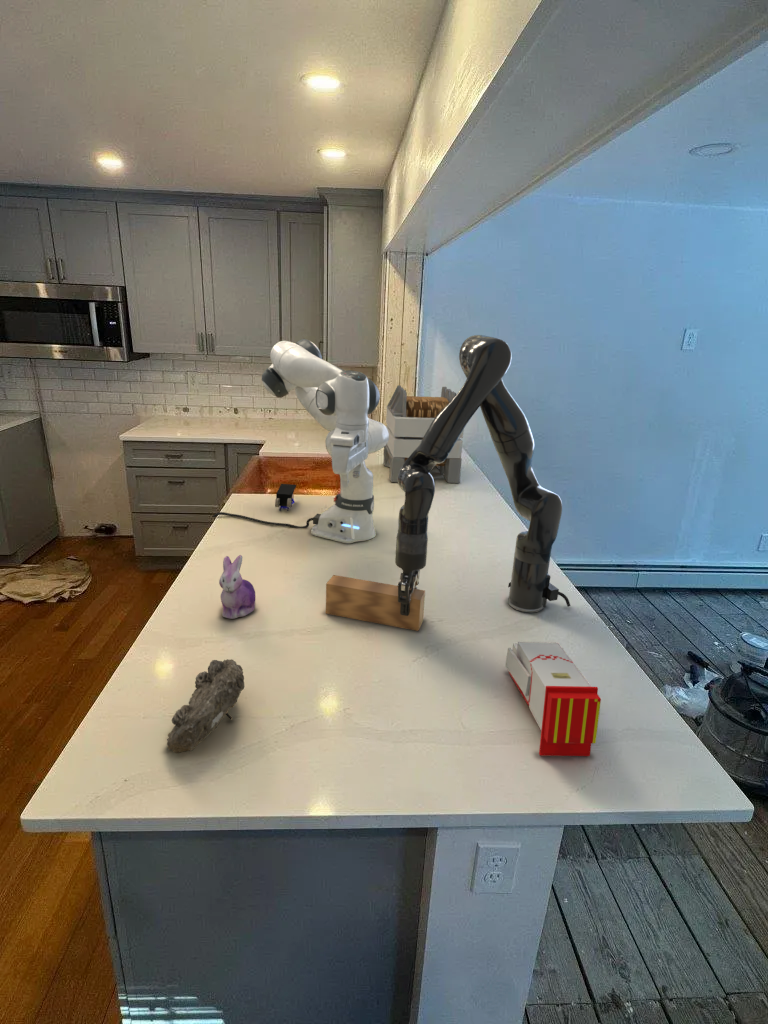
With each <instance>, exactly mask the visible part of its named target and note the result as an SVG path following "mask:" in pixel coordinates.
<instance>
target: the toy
mask: <svg viewBox="0 0 768 1024" xmlns="http://www.w3.org/2000/svg"><path fill="white" fill-rule="evenodd" d="M511 646H512V647H508V648H507V653H506V658H505V659H506V660H505V668H506V669H507V671H508V675H509V676H510V677H511V679H512V681H513V682H514V684H515V686H516V688H517V689H518V691H519V693H520V694H521V696H522V698H523V700H524V702H525V703H526V705H527V706H528V708H529V710H530V712H531V715H532V716H533V718H534V720H535V722H536V723H537V724H536V725H537V726H538V727H539V730H540V731H541V733H540V739H539V740H540V741H539V749H538V751H539V752H538V754H539V756H543V757H548V756H550V757H551V756H552V757H553V756H554V757H568V756H569V757H591V751H592V744H596V743H597V734H598V726H599V717H600V710H601V702H602V698H601V697H600V696H599V694H598V693H599V688H598V686H592V684H590V682H589V681H588V680H587V678H586V677H585V676H584V675H583V673H582V672H581V671H580V669H579V668H578V667H577V665H576V664H575V663H574V661H573V660H572V659H571V658H570V656H569V655H568V654H567V652H566V651H565V649H564V647H562V645H561V644H560V643H559V642H553V641H551V642H549V641H548V642H547V641H546V642H545V641H517V642H512V645H511Z"/></svg>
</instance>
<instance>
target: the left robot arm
mask: <svg viewBox="0 0 768 1024" xmlns="http://www.w3.org/2000/svg"><path fill="white" fill-rule="evenodd" d="M269 357H270V362H271V364H270V365H269V367H267V368H266V369H264V372H262V375H261V382H262V384H263V387H264V389H265V390H266V391H267V392H268V393H269V394H270V395H272V396H274V397H276V398H279V399H282V398H285V397H286V396H288V395H289V393H290V392H292V391H293V390H294V393H295V396H296V399H298V401H299V402H300V404H301V405H302V407H303V408H304V409H305V410H306V412H307V413H308V414H309V415H310V416H311V417H312V418H313V419H314V420H315V421H316V422H317V423H318V424H319V425H320V426H321V427H322V428H323V429H324V430H326V431H328V433H327V434H326V436H325V441H324V443H325V449H326V452H327V453H328V455H329V456H330V457H331V468H332V472H333V473H334V474H335V475H339V478H340V480H339V481H340V484H339V485H340V488H339V489H340V490H339V491H338V492H337V494H336V495H335V496H334V497H333V502H334V504H333V505H331V506H329V507H328V508H326V509H325V510H323V512H321V513H316V514H315V515H314V516H313V517H309V518H307V520H306V521H305V523H306V524H305V525H303V526H299V525H294V524H290V523H283V522H282V523H281V522H273V521H267V520H263V519H257V518H254V517H251V516H246V515H241V514H236V513H229V512H224V511H220V512H216V513H214V514H213V515H212V518H217V517H218V516H227V517H234V518H239V519H243V520H248V521H252V522H256V523H260V524H264V525H270V526H276V527H277V526H278V527H288V528H293V529H307V528H309V526H310V522H311V521H312V525H313V526H312V528H311V530H310V533H311V536H315V537H319V538H323V539H326V540H330V541H336V542H339V543H343V544H352V543H357V542H365V541H368V540H372V539H373V538H375V537H376V535H377V532H376V528H375V523H374V513H373V512H374V509H375V496H374V473H373V471H372V470H371V469H369V468H368V467H367V464H366V460H367V459H368V458H369V457H368V456H369V455H371V454H374V453H377V452H378V451H381V450H382V449H384V447H385V446H386V444H387V443H388V440H389V433H388V430H387V428H386V426H387V425H385V424H384V423H383V422H381V421H377V420H375V419H372V418H370V417H369V415H371V414H372V413H373V412H374V411H375V410H376V409H377V407H378V405H379V403H380V399H381V395H380V390H379V388H378V387H377V385H376V383H375V382H374V381H372V379H370V378H368V376H367V375H366V374H365V373H363V372H361V371H357V370H351V369H349V370H345V369H343V368H342V367H340V366H337V365H335V364H333V363H330V362H328V361H327V360H324V359H323V356H322V354H321V350H320V349H319V347H318V346H317V345H316V343H314V342H312V341H311V340H309V339H307V338H301V339H299V340H297V341H296V342H293V341H290V340H280V341H278V342H276V343H275V344H274V345H273V346H272V348H271V350H270V355H269Z"/></svg>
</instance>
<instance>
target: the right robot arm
mask: <svg viewBox="0 0 768 1024" xmlns="http://www.w3.org/2000/svg"><path fill="white" fill-rule="evenodd" d="M458 354H459V355H458V359H459V364H460V367H461V370H462V372H463V373H464V375H465V378H466V380H465V381H464V383H463V385H462V387H461V388H460V390H459V391H458V392H457V393H456V396H455V397H454V398H453V399H452V400H451V402H450V403H448V404H447V405H446V406H445V407H444V408H443V409H442V410H441V411H440V413H439V414H438V415H437V416H436V417H435V419H434V420H433V421H432V423H431V425H430V426H429V428H428V430H427V432H426V433H425V435H424V437H423V439H422V441H421V443H420V445H419V446H418V447H417V448H416V449H415V450H414V451H413V453H412V454H411V455H410V456H409V458H408V459H407V460H406V461H405V463H404V464H403V465H402V467H401V469H400V471H399V474H398V482H397V484H398V486H399V488H401V490H402V491H403V492H404V504H403V505H402V506H401V507H400V508H399V513H398V524H397V532H396V533H397V534H396V540H395V541H396V542H395V556H394V557H395V558H394V559H395V560H394V563H395V566H396V567H397V568H399V569H401V570H402V572H400V575H399V580H400V581H398V583H397V586H398V602H399V603H401V607H400V614H401V615H405V616H408V615H409V612H410V602H411V594H412V593H413V592H414V589H418V586H419V583H420V573H421V570H423V569H424V568H425V567H426V565H427V555H428V544H429V543H428V542H429V536H428V528H429V514H430V511H431V508H432V505H433V501H434V497H435V491H436V488H435V487H436V485H435V480H434V477H433V475H432V474H431V472H432V470H433V469H434V468H435V467H436V466H435V465H436V464H437V463H438V464H440V463H443V462H444V461H445V460H446V458H447V457H448V455H449V453H450V452H451V450H452V448H453V446H454V445H455V443H456V441H457V439H458V438H459V436H460V434H461V432H462V431H463V429H464V430H465V427H466V426H467V424H468V423H469V422H470V420H471V419H472V417H473V416H474V415H475V413H476V412H477V411H478V409H479V408H480V410H481V413H482V417H483V419H484V421H485V424H486V427H487V429H488V432H489V435H490V439H491V441H492V443H493V446H494V448H495V451H496V453H497V455H498V458H499V460H500V463H501V465H502V469H503V471H504V473H505V476H506V479H507V482H508V484H509V489H510V493H511V498H512V500H513V505H514V507H515V510H516V512H517V513H518V515H519V516H520V517H522V518H523V519H525V520H527V521H528V522H529V526H528V530H525V531H521V532H519V533H518V534H517V536H516V539H515V548H514V555H513V562H512V572H511V577H510V578H511V579H510V581H509V582H508V588H509V593H508V598H507V604H508V605H509V606H510V607H511V608H512V609H514V610H516V611H518V612H521V613H538V612H541V611H542V610H543V608H547V603H548V601H549V602H552V601H558V599H559V598H558V597H559V596H560V597H561V598H562V599H563V600H564V601H565V604H566V606H567V607H568V608H570V607H571V603H570V600H569V598H568V596H566V594H565V593H563V592H561V591H560V589H559V588H558V587H557V586H555V585H554V584H553V583H551V582H550V581H551V575H550V574H549V569H550V568H549V567H550V561H551V555H552V550H553V545H554V543H555V541H556V540H557V537H558V533H559V528H560V525H561V524H560V523H561V519H562V514H563V501H562V499H561V497H560V495H559V494H557V493H555V492H554V491H551V490H549V489H547V488H544V487H542V486H541V485H540V483H539V481H538V479H537V477H536V474H535V472H534V469H533V457H534V454H535V453H534V452H535V439H534V437H533V433H532V430H531V426H530V424H529V421H528V419H527V417H526V415H525V413H524V412H523V410H522V408H521V407H520V406H519V404H518V403H517V402H516V400H515V399H514V397H513V396H512V395H511V393H510V392H509V390H508V388H507V387H506V385H505V383H504V380H503V377H504V376H505V374H507V371H508V370H509V368H510V366H511V363H512V357H513V356H512V355H513V354H512V350H511V347H510V346H509V344H508V343H507V342H506V341H505V340H504V339H501V338H497V337H494V336H488V335H482V334H475V335H474V334H473V335H471V336H469V337H467V338H466V339H464V341H463V342H462V344H461V346H460V349H459V353H458ZM409 588H411V590H409ZM403 596H405V597H403Z"/></svg>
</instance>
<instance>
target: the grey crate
mask: <svg viewBox="0 0 768 1024" xmlns="http://www.w3.org/2000/svg"><path fill="white" fill-rule="evenodd" d="M440 393H441V394H440V396H415V395H414V396H413V395H412V396H411V395H407V394H408V393H407V390H406V389H404V388H403V387H402V385H399V384H398V385H397V386H396V388H395V390H394V392H393V394H392V395H391V398H390V400H389V402H388V404H387V405H386V413H385V414H386V415H385V423H386V425H385V426H386V428H387V430H388V433H389V440H388V443H387V444H386V446H385V447H383V466H384V467H388V468H389V475H388V476H389V477H388V478H389V480H390V482H391V483H398V474H399V471H400V469H401V467H402V465H403V464H404V463H405V461H406V460H407V459H408V458H409V456H410V455H411V454H412V453H413V451H414V450H415V449H416V448H417V447H418V446H419V445H420V443H421V441H422V439H423V437H424V435H425V433H426V432H427V430H428V428H429V426H430V425H431V423H432V421H433V420H434V419H435V417H436V416H437V415H438V414H439V413H440V411H441V410H442V409H443V408H444V407H445V406H446V405H447V404H448V403H450V402H451V400H452V399H453V398H454V397H455V396H456V395H457V392H455V391H453V390H452V389H451V388H447V386H442V387H441V392H440ZM464 431H465V428H464V429H463V431H462V432H461V434H460V436H459V438H458V439H457V441H456V443H455V445H454V446H453V448H452V450H451V452H450V453H449V455H448V457H447V458H446V460H445V461H444V462H443V463H440V464H438V463H437V464H436V465H435V466H434V467H436V468H437V470H438V469H439V473H440V474H441V475H443V478H444V479H445V481H446V482H447V483H449V484H455V483H456V484H459V483H461V472H462V461H463V460H462V453H463V442H464V441H463V440H462V439H463V438H464Z"/></svg>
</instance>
